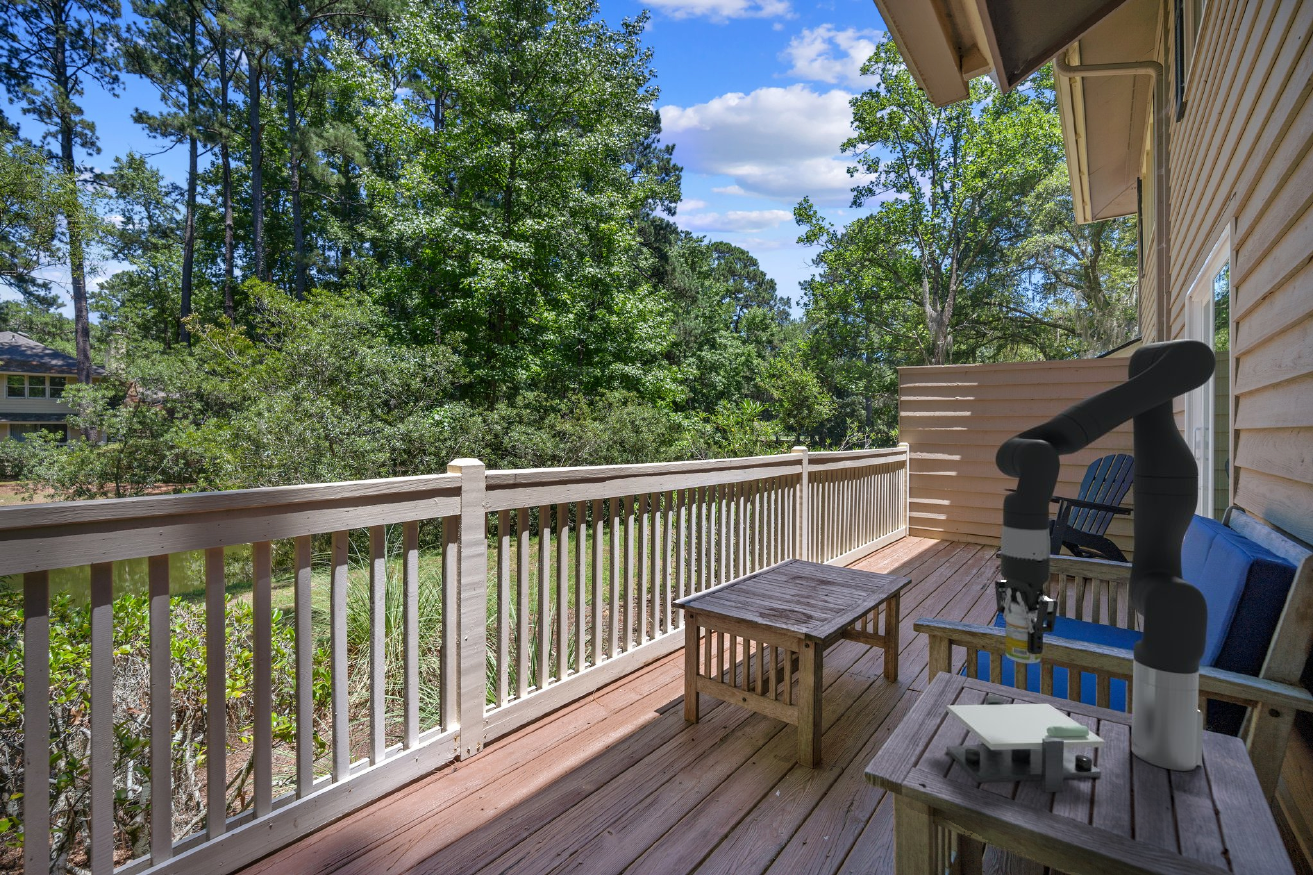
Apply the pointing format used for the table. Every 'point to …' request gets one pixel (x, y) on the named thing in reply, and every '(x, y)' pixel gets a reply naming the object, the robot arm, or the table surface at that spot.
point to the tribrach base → (1024, 761)
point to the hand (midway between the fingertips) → (1023, 646)
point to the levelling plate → (1022, 726)
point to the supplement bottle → (1018, 636)
